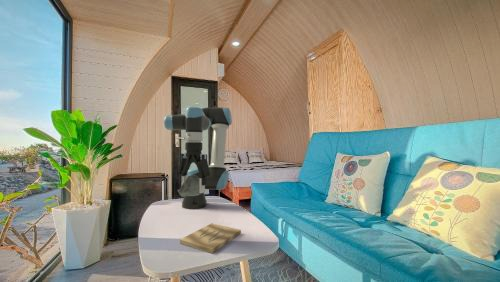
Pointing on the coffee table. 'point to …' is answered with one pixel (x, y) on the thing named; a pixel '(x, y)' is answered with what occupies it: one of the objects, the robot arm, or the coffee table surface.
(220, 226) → the board
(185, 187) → the stone
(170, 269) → the coffee table surface
